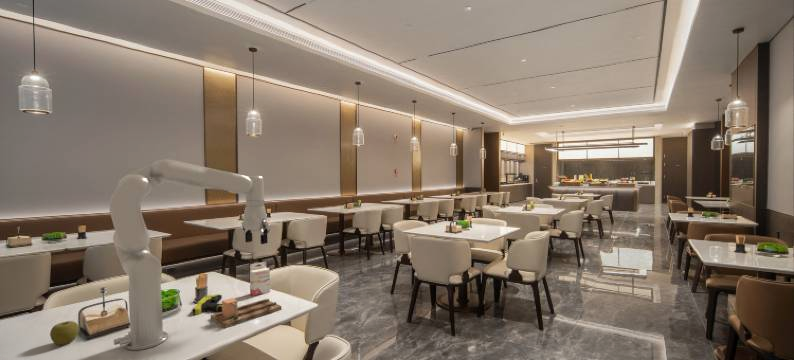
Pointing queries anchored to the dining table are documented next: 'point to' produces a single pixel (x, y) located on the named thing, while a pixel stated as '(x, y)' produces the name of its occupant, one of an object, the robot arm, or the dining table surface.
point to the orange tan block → (229, 307)
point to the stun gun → (208, 304)
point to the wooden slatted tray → (246, 313)
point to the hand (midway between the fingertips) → (256, 242)
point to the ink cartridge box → (259, 279)
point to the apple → (64, 332)
